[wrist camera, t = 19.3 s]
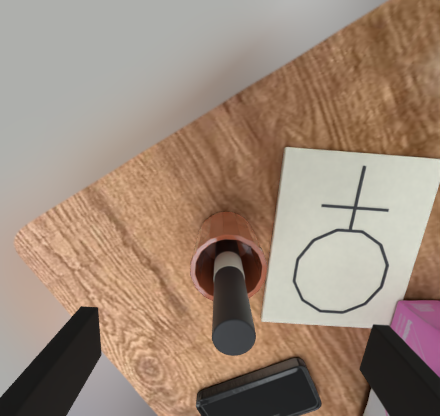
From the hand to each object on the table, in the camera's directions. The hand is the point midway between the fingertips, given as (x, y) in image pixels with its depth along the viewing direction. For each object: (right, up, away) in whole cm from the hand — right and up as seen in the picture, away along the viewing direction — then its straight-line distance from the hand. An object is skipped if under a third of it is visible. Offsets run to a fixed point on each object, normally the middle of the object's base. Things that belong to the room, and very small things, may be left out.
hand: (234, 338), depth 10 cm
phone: (+4, -19, +19) cm, 27 cm away
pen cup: (0, +3, +13) cm, 14 cm away
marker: (0, +3, +13) cm, 13 cm away
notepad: (+13, +2, +14) cm, 19 cm away
